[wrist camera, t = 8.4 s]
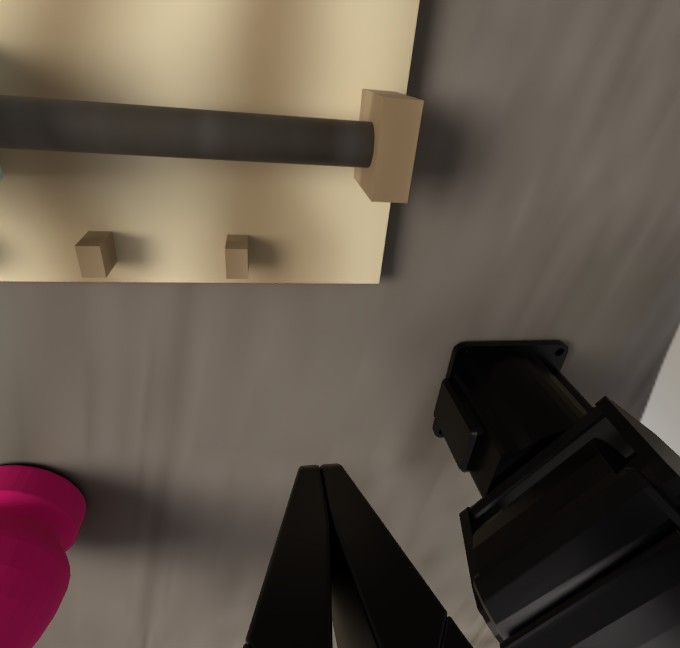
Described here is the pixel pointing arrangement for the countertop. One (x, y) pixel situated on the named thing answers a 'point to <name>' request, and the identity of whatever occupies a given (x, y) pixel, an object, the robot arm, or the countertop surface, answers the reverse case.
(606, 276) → the countertop surface
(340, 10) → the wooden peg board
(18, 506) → the pepper mill
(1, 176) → the sleeve
